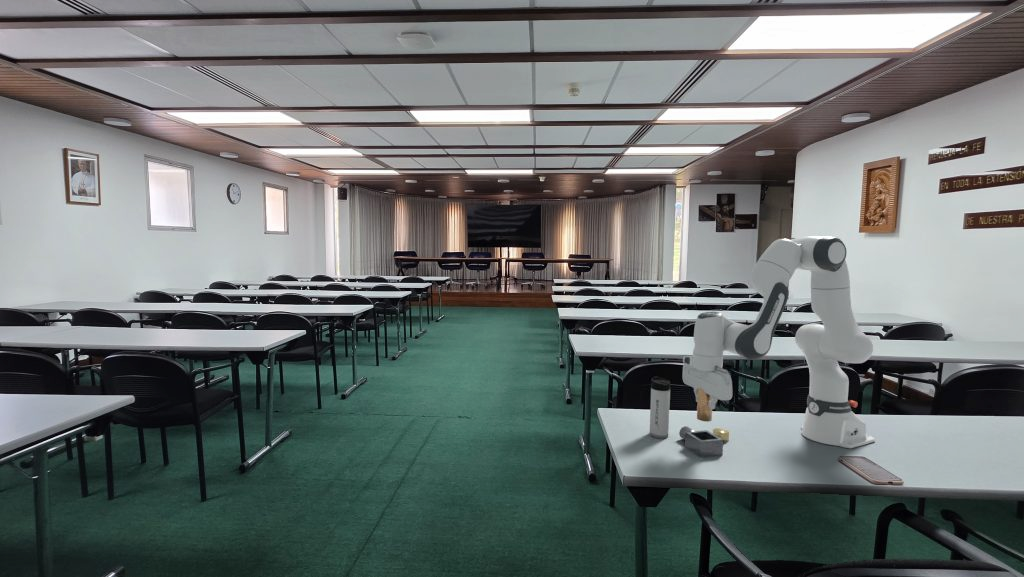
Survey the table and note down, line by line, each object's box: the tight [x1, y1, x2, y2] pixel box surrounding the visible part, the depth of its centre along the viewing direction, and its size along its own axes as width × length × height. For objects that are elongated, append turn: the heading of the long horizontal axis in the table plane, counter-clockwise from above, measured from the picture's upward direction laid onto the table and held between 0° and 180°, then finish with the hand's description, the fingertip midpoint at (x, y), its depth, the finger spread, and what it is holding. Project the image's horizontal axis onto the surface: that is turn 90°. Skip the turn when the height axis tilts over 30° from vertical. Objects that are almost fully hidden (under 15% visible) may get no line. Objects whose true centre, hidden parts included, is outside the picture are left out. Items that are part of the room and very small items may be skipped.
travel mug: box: [649, 376, 671, 439], centre depth 163 cm, size 6×7×20 cm
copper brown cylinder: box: [696, 388, 713, 422], centre depth 149 cm, size 4×4×10 cm
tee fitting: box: [678, 425, 724, 458], centre depth 153 cm, size 8×14×5 cm, turn 14°
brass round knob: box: [712, 428, 730, 443], centre depth 160 cm, size 5×5×3 cm
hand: (705, 405), depth 149 cm, fingers closed on copper brown cylinder, 4 cm apart
